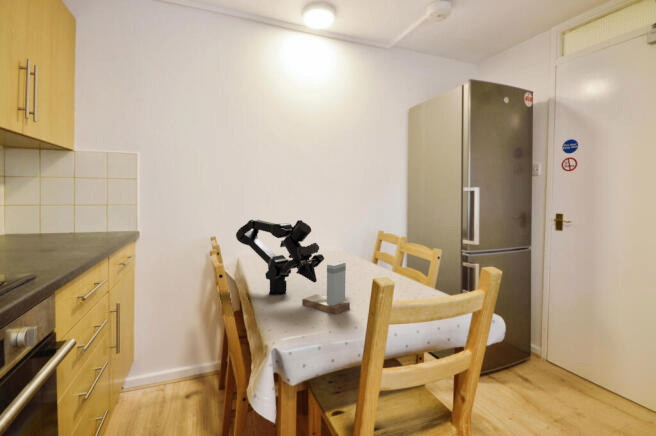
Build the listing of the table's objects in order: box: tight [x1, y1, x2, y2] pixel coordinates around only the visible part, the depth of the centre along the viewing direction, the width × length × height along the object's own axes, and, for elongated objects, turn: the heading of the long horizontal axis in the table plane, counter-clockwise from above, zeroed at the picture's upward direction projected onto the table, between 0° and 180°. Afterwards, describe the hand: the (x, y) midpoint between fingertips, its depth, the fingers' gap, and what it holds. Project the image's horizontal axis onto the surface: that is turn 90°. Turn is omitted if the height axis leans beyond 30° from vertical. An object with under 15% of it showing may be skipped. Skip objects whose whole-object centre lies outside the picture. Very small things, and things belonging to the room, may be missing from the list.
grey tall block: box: [326, 261, 347, 306], centre depth 109 cm, size 3×7×14 cm, turn 142°
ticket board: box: [301, 294, 351, 315], centre depth 112 cm, size 16×8×2 cm, turn 52°
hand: (315, 281), depth 115 cm, fingers closed
